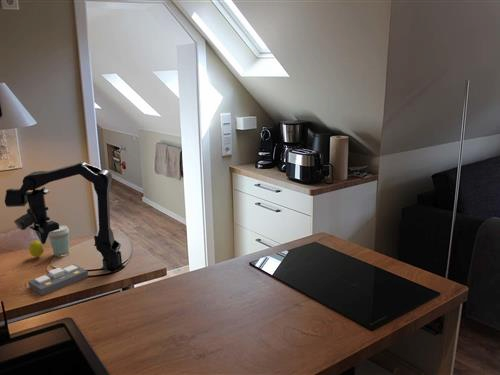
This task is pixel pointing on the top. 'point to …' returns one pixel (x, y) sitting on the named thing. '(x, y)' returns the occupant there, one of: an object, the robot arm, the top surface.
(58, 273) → the middle button
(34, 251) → the lemon
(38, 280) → the button
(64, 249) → the coffee cup
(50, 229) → the robot arm
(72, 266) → the button
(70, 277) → the button board
